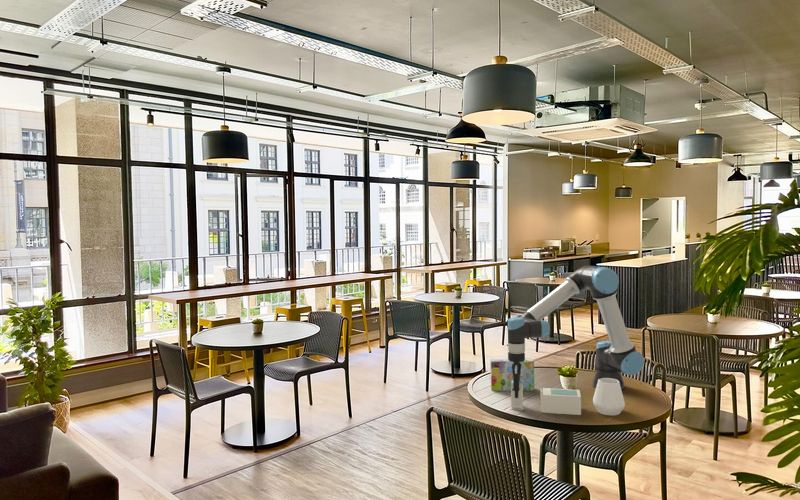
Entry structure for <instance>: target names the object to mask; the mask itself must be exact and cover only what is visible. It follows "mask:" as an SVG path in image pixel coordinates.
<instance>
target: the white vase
mask: <svg viewBox="0 0 800 500" xmlns="http://www.w3.org/2000/svg"><path fill="white" fill-rule="evenodd" d="M593 394H594V395H593V398H592V402H593V403H592V404H593V406H594V407H595V408H594V409H596V412H598V413H599V414H601V415H604V416H619V415H620V414H621V412H622V411H623V410H624V408H625V406H626V402H625V398H624V395H623V391H622V390H621V387H620V383H619V381H618V380H616V379H612V378H601V379H599V380H598V382H597V386H596V388H595V390H594V393H593Z"/></svg>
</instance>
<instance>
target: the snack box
mask: <svg viewBox="0 0 800 500" xmlns="http://www.w3.org/2000/svg"><path fill="white" fill-rule="evenodd" d="M489 361H490V389H491V391H492V392H493V391H497V392H498V391H503V392H504V391H505V392H507V391H510V392H511V380H513V369H512V364H514V362H511V361H509V360H508V358H490V360H489ZM520 364H521V373H520V381H523V392H525V391H527V392H530V391H531V392H532V391H533V392H534V391H535V361H534V359H533V358H525V361H523V362H520Z"/></svg>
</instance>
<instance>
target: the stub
mask: <svg viewBox="0 0 800 500" xmlns="http://www.w3.org/2000/svg"><path fill="white" fill-rule="evenodd" d="M512 389H513V380H511V391H510V408H523V409H524V401H523V400H524V395H523V393H524V391H523V381H519V389H520V405H514V392H513V391H512Z"/></svg>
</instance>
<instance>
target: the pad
mask: <svg viewBox="0 0 800 500" xmlns="http://www.w3.org/2000/svg"><path fill="white" fill-rule="evenodd" d="M509 409H510V410H512V411H513V410H515V411H524V407H523V408H511V407H509Z"/></svg>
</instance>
